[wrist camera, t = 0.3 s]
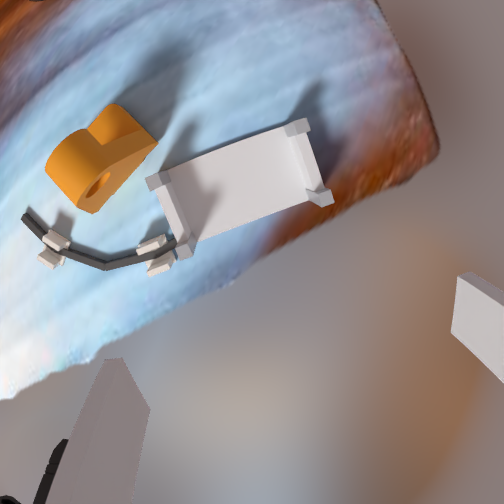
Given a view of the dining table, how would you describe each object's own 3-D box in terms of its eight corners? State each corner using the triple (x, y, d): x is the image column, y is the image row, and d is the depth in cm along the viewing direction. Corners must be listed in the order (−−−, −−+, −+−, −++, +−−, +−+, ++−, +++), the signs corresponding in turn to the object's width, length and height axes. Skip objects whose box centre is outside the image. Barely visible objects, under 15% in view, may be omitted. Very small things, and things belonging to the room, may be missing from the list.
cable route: (24, 212, 32) (13, 216, 30) (182, 236, 36) (179, 242, 33) (25, 256, 34) (15, 262, 32) (176, 285, 37) (173, 294, 35)
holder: (156, 174, 33) (144, 178, 28) (293, 123, 33) (306, 117, 27) (186, 245, 36) (180, 260, 31) (318, 195, 35) (334, 202, 30)
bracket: (120, 103, 30) (75, 83, 19) (160, 143, 32) (128, 138, 21) (64, 170, 32) (6, 181, 20) (100, 209, 34) (52, 235, 22)
